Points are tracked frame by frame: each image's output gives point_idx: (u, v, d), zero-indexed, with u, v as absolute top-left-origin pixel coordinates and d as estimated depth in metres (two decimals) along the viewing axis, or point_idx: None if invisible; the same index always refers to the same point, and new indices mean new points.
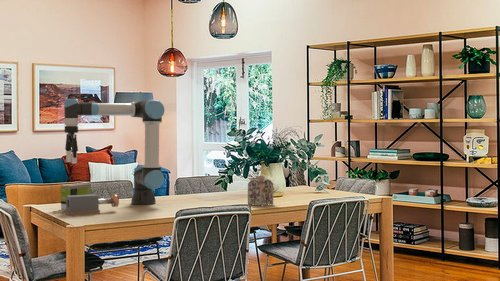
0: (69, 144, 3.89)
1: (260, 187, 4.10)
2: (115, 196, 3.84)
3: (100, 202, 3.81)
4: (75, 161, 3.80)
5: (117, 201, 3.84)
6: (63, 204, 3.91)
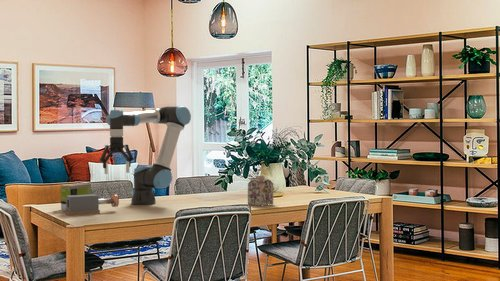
0: (123, 155, 3.91)
1: (260, 187, 4.10)
2: (115, 196, 3.84)
3: (100, 202, 3.81)
4: (105, 172, 3.84)
5: (117, 201, 3.84)
6: (63, 204, 3.91)
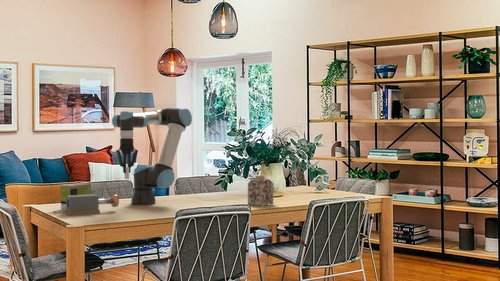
0: (127, 158, 3.90)
1: (260, 187, 4.10)
2: (115, 196, 3.84)
3: (100, 202, 3.81)
4: (125, 176, 3.89)
5: (117, 201, 3.84)
6: (63, 204, 3.91)
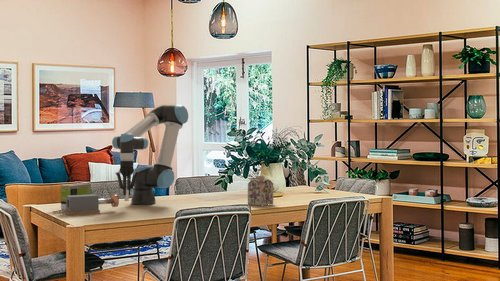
0: (127, 180, 3.90)
1: (260, 187, 4.10)
2: (115, 196, 3.84)
3: (100, 202, 3.81)
4: (125, 199, 3.89)
5: (117, 201, 3.84)
6: (63, 204, 3.91)
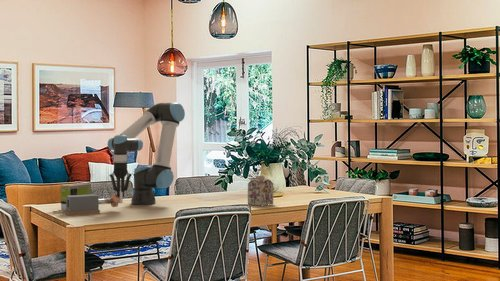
0: (121, 182, 3.88)
1: (260, 187, 4.10)
2: (115, 196, 3.84)
3: (100, 202, 3.81)
4: (119, 201, 3.87)
5: (117, 201, 3.83)
6: (63, 204, 3.91)
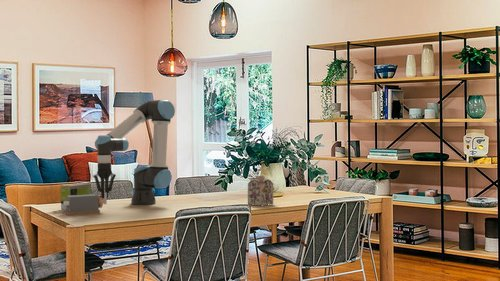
0: (105, 182, 3.83)
1: (260, 187, 4.10)
2: (99, 197, 3.80)
3: None
4: (104, 202, 3.83)
5: (101, 202, 3.79)
6: None
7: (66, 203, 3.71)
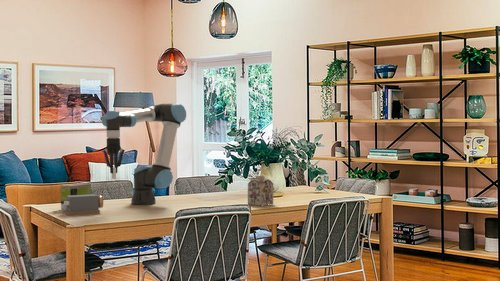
0: (114, 158, 3.86)
1: (260, 187, 4.10)
2: (100, 197, 3.80)
3: None
4: (113, 177, 3.85)
5: (102, 202, 3.79)
6: (63, 204, 3.91)
7: (66, 203, 3.71)
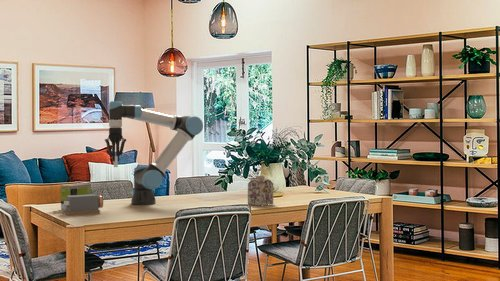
0: (116, 146, 4.01)
1: (260, 187, 4.10)
2: (100, 197, 3.80)
3: None
4: (114, 165, 4.00)
5: (102, 202, 3.79)
6: (63, 204, 3.91)
7: (66, 203, 3.71)
